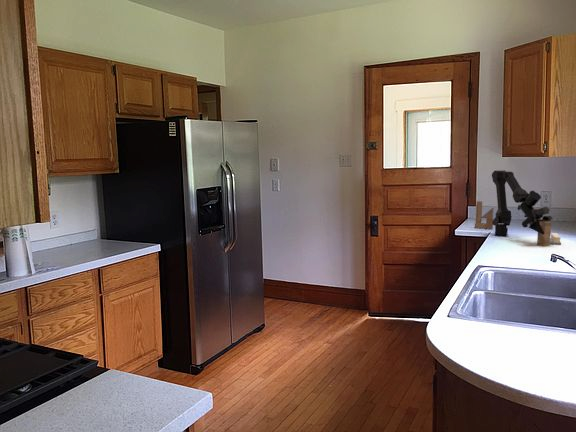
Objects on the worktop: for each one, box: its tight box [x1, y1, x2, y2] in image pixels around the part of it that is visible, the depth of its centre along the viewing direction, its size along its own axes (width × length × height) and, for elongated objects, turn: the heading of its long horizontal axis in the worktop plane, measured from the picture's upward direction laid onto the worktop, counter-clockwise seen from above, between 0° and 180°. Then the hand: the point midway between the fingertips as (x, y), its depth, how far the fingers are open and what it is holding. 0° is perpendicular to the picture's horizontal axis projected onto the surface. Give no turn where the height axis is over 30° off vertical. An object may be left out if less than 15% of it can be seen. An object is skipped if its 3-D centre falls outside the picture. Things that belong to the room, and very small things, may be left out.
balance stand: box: [550, 232, 562, 246], centre depth 280 cm, size 10×16×4 cm, turn 158°
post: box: [536, 221, 552, 247], centre depth 269 cm, size 4×4×13 cm
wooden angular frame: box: [474, 200, 495, 230], centre depth 328 cm, size 4×11×18 cm, turn 56°
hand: (546, 233), depth 267 cm, fingers closed on post, 4 cm apart
